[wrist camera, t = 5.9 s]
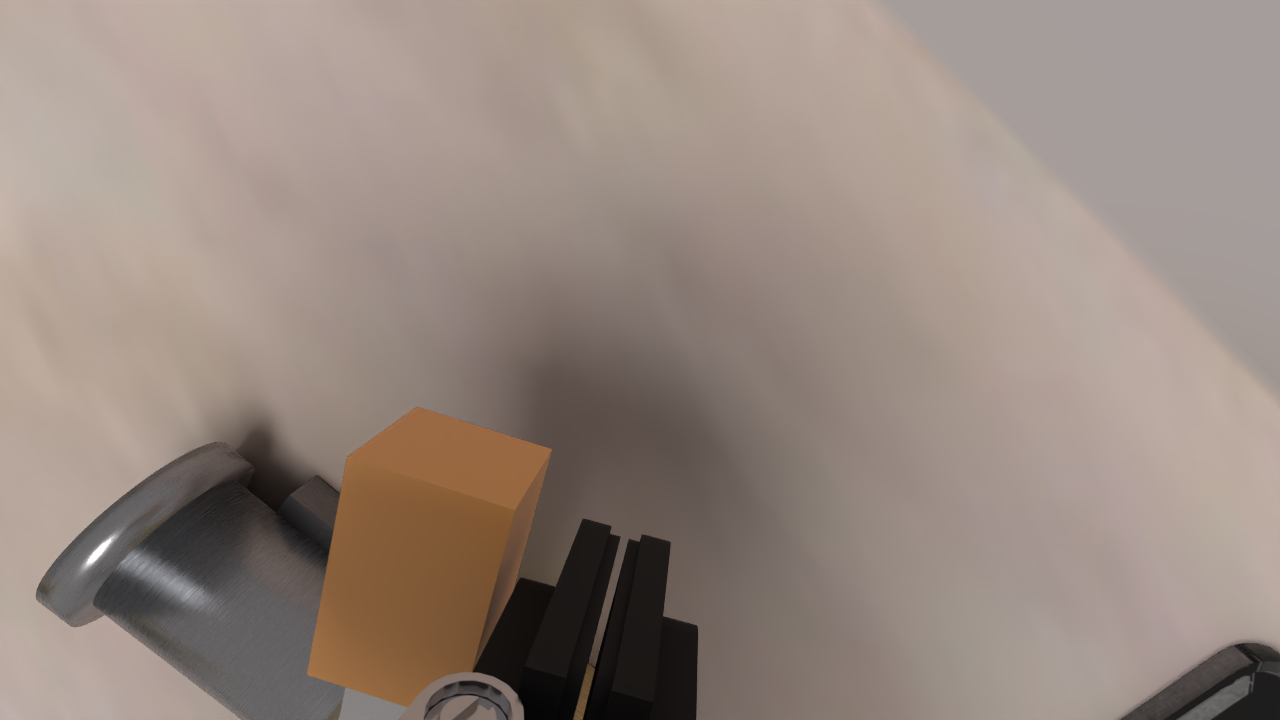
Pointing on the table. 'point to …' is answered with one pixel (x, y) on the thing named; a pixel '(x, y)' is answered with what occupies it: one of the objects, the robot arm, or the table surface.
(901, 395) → the table surface
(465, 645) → the valve lever
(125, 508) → the valve pipe
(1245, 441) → the table surface
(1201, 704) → the phone
